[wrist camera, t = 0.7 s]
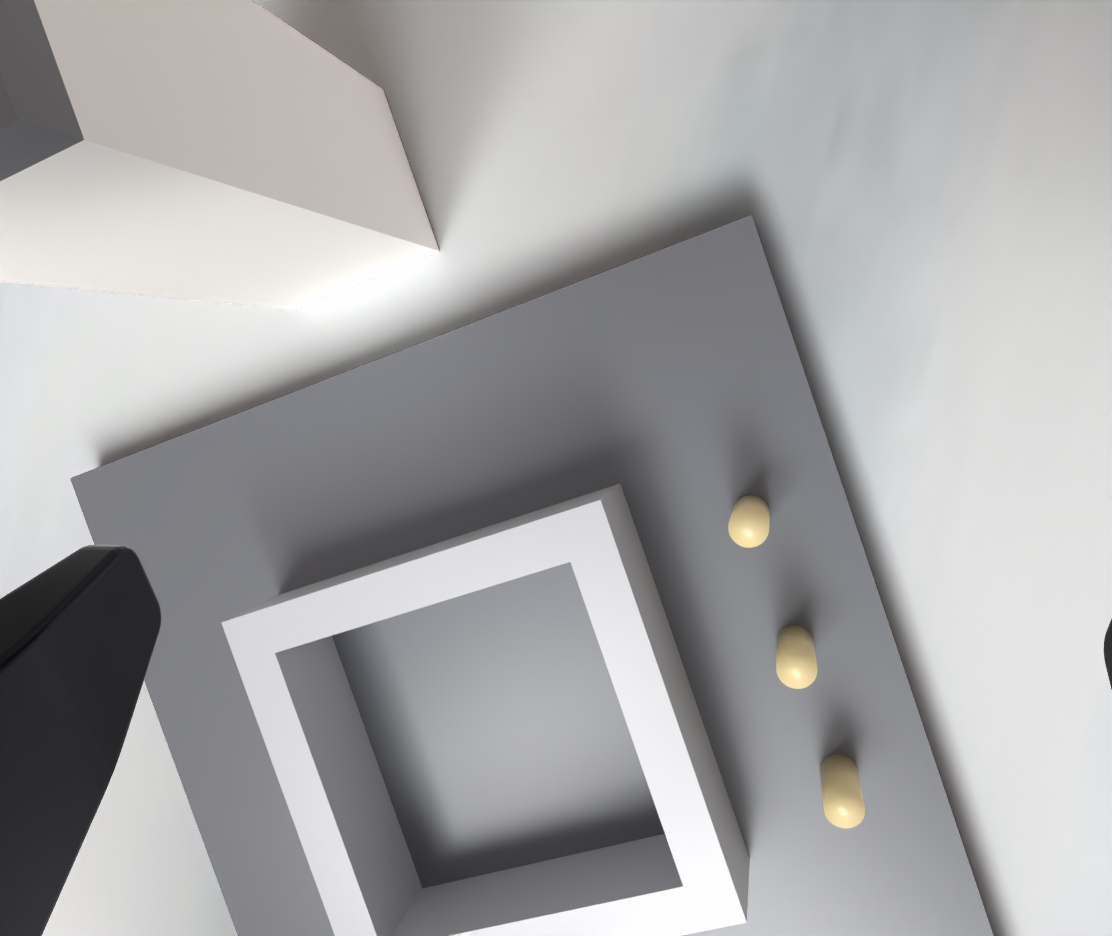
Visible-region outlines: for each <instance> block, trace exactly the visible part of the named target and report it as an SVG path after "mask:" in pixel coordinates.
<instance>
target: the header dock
mask: <svg viewBox="0 0 1112 936" xmlns="http://www.w3.org/2000/svg"><path fill="white" fill-rule="evenodd" d="M70 479H71V482H72V484H73V487H74V490H75V493H76V495H77V498H78V501H79V504H80V506H81V509H82V512H83V514H84V517H85V520H86V523H87V525H88V528H89V531H90V533H91V536H92V539H93V542H94V544H95V545H124V546H127V547H130V548H131V549H132V550H133V551H134V552H135V553H136V554H137V556H138V557H139V560H140V562H141V564H142V566H143V568H144V571H145V573H146V575H147V577H148V579H149V582H150V584H151V586H152V588H153V591H154V593H155V595H156V597H157V599H158V602H159V605H160V609H161V626H160V631H159V634H158V638H157V641H156V644H155V647H154V650H153V653H152V656H151V659H150V662H149V666H148V669H147V672H146V675H145V678H144V681H145V683H146V686H147V689H148V692H149V694H150V697H151V700H152V702H153V705H154V708H155V711H156V713H157V716H158V719H159V722H160V724H161V727H162V730H163V732H164V735H165V738H166V741H167V743H168V746H169V749H170V752H171V754H172V757H173V760H174V762H175V765H176V768H177V771H178V773H179V776H180V779H181V782H182V784H183V787H184V790H185V792H186V795H187V798H188V801H189V803H190V806H191V809H192V812H193V814H194V817H195V820H196V822H197V825H198V828H199V831H200V833H201V836H202V839H203V841H204V844H205V847H206V850H207V852H208V855H209V858H210V861H211V863H212V866H213V869H214V871H215V874H216V877H217V880H218V882H219V885H220V888H221V891H222V893H223V896H224V899H225V901H226V904H227V907H228V910H229V912H230V915H231V918H232V921H233V923H234V926H235V929H236V931H237V934H238V936H994V935H993V932H992V929H991V926H990V923H989V920H988V917H987V914H986V911H985V908H984V905H983V902H982V899H981V896H980V893H979V890H978V887H977V884H976V882H975V879H974V876H973V873H972V870H971V867H970V864H969V861H968V858H967V855H966V852H965V849H964V846H963V843H962V840H961V837H960V834H959V831H958V828H957V825H956V822H955V819H954V816H953V813H952V810H951V807H950V804H949V801H948V798H947V795H946V792H945V789H944V786H943V783H942V780H941V777H940V774H939V771H938V768H937V765H936V762H935V759H934V756H933V753H932V750H931V747H930V744H929V742H928V739H927V736H926V733H925V730H924V727H923V724H922V721H921V718H920V715H919V712H918V709H917V706H916V703H915V700H914V697H913V694H912V691H911V688H910V685H909V682H908V679H907V676H906V673H905V670H904V667H903V664H902V661H901V658H900V655H899V652H898V649H897V646H896V643H895V640H894V637H893V634H892V631H891V628H890V625H889V622H888V619H887V616H886V613H885V610H884V607H883V605H882V602H881V599H880V596H879V593H878V590H877V587H876V584H875V581H874V578H873V575H872V572H871V569H870V566H869V563H868V560H867V557H866V554H865V551H864V548H863V545H862V542H861V539H860V536H859V533H858V530H857V527H856V524H855V521H854V518H853V515H852V512H851V509H850V506H849V503H848V500H847V497H846V494H845V491H844V488H843V485H842V482H841V479H840V476H839V473H838V470H837V468H836V465H835V462H834V459H833V456H832V453H831V450H830V447H829V444H828V441H827V438H826V435H825V432H824V429H823V426H822V423H821V420H820V417H819V414H818V411H817V408H816V405H815V402H814V399H813V396H812V393H811V390H810V387H809V384H808V381H807V378H806V375H805V372H804V369H803V366H802V363H801V360H800V357H799V354H798V351H797V348H796V345H795V342H794V339H793V336H792V333H791V331H790V328H789V325H788V322H787V319H786V316H785V313H784V310H783V307H782V304H781V301H780V298H779V295H778V292H777V289H776V286H775V283H774V280H773V277H772V274H771V271H770V268H769V265H768V262H767V259H766V256H765V253H764V250H763V247H762V244H761V241H760V238H759V235H758V232H757V229H756V226H755V223H754V220H753V217H752V215H749V216H747V217H744V218H742V219H739V220H736V221H734V222H731V223H729V224H726V225H723V226H721V227H718V228H716V229H713V230H711V231H708V232H705V233H703V234H700V235H698V236H695V237H692V238H690V239H687V240H685V241H682V242H680V243H677V244H674V245H672V246H669V247H667V248H664V249H661V250H659V251H656V252H654V253H651V254H649V255H646V256H643V257H641V258H638V259H636V260H633V261H630V262H628V263H625V264H623V265H620V266H618V267H615V268H612V269H610V270H607V271H605V272H602V273H599V274H597V275H594V276H592V277H589V278H587V279H584V280H581V281H579V282H576V283H574V284H571V285H568V286H566V287H563V288H561V289H558V290H556V291H553V292H550V293H548V294H545V295H543V296H540V297H537V298H535V299H532V300H530V301H527V302H525V303H522V304H519V305H517V306H514V307H512V308H509V309H506V310H504V311H501V312H499V313H496V314H494V315H491V316H488V317H486V318H483V319H481V320H478V321H475V322H473V323H470V324H468V325H465V326H463V327H460V328H457V329H455V330H452V331H450V332H447V333H444V334H442V335H439V336H437V337H434V338H432V339H429V340H426V341H424V342H421V343H419V344H416V345H413V346H411V347H408V348H406V349H403V350H401V351H398V352H395V353H393V354H390V355H388V356H385V357H382V358H380V359H377V360H375V361H372V362H370V363H367V364H364V365H362V366H359V367H357V368H354V369H351V370H349V371H346V372H344V373H341V374H339V375H336V376H333V377H331V378H328V379H326V380H323V381H320V382H318V383H315V384H313V385H310V386H308V387H305V388H302V389H300V390H297V391H295V392H292V393H289V394H287V395H284V396H282V397H279V398H277V399H274V400H271V401H269V402H266V403H264V404H261V405H258V406H256V407H253V408H251V409H248V410H246V411H243V412H240V413H238V414H235V415H233V416H230V417H227V418H225V419H222V420H220V421H217V422H215V423H212V424H209V425H207V426H204V427H202V428H199V429H196V430H194V431H191V432H189V433H186V434H184V435H181V436H178V437H176V438H173V439H171V440H168V441H165V442H163V443H160V444H158V445H155V446H153V447H150V448H147V449H145V450H142V451H140V452H137V453H134V454H132V455H129V456H127V457H124V458H122V459H119V460H116V461H114V462H111V463H109V464H106V465H103V466H101V467H98V468H96V469H93V470H91V471H88V472H85V473H83V474H80V475H78V476H75V477H72V478H70Z"/></svg>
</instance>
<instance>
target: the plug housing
mask: <svg viewBox="0 0 1112 936" xmlns="http://www.w3.org/2000/svg"><path fill="white" fill-rule="evenodd" d="M436 252H439V248H438V246H437V243H436V240H435V237H434V234H433V231H432V228H431V225H430V223H429V220H428V217H427V214H426V211H425V208H424V205H423V203H422V200H421V197H420V194H419V191H418V188H417V185H416V182H415V180H414V177H413V174H412V171H411V168H410V165H409V162H408V159H407V157H406V154H405V151H404V148H403V145H402V142H401V139H400V137H399V134H398V131H397V128H396V125H395V122H394V119H393V116H392V114H391V111H390V108H389V105H388V102H387V99H386V96H385V94H384V91H383V89H382V88H380V87H379V86H377V85H376V84H374V83H373V82H371V81H370V80H369V79H367V78H366V77H364V76H363V75H361V74H360V73H358V72H357V71H355V70H354V69H352V68H351V67H349V66H348V65H347V64H345V63H344V62H342V61H341V60H339V59H338V58H336V57H335V56H333V55H332V54H330V53H329V52H328V51H326V50H325V49H323V48H322V47H320V46H319V45H317V44H316V43H314V42H313V41H311V40H310V39H308V38H307V37H306V36H304V35H303V34H301V33H300V32H298V31H297V30H295V29H294V28H292V27H291V26H289V25H288V24H286V23H285V22H284V21H282V20H281V19H279V18H278V17H276V16H275V15H273V14H272V13H270V12H269V11H267V10H266V9H264V8H263V7H262V6H260V5H259V4H257V3H256V2H254V1H253V0H0V282H6V283H16V284H27V285H37V286H48V287H58V288H69V289H79V290H90V291H100V292H111V293H121V294H131V295H142V296H152V297H163V298H173V299H184V300H194V301H205V302H215V303H226V304H236V305H247V306H257V307H268V308H278V309H289V310H298V309H300V308H302V307H305V306H307V305H310V304H312V303H315V302H317V301H319V300H322V299H324V298H327V297H329V296H332V295H334V294H336V293H339V292H341V291H344V290H346V289H349V288H351V287H353V286H356V285H358V284H361V283H363V282H366V281H368V280H370V279H373V278H375V277H378V276H380V275H383V274H385V273H387V272H390V271H392V270H395V269H397V268H400V267H402V266H405V265H407V264H409V263H412V262H414V261H417V260H419V259H422V258H424V257H426V256H429V255H431V254H434V253H436Z"/></svg>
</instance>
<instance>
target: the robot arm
mask: <svg viewBox="0 0 1112 936" xmlns="http://www.w3.org/2000/svg"><path fill="white" fill-rule="evenodd" d="M160 626H161V609H160V605H159V602H158V599H157V597H156V595H155V593H154V591H153V588H152V586H151V584H150V582H149V579H148V577H147V575H146V573H145V571H144V568H143V566H142V564H141V562H140V560H139V557H138V556H137V554H136V553H135V552H134V551H133V550H132V549H131V548H130V547H127V546H124V545H89V546H85V547H83V548H81V549H79V550H77V551H76V552H74V553H73V554H71V555H70V556H68V557H66V558H65V559H63V560H62V561H60V562H58V563H57V564H55V565H54V566H52V567H50V568H49V569H47V570H46V571H44V572H42V573H41V574H39V575H38V576H36V577H34V578H33V579H31V580H30V581H28V582H26V583H25V584H23V585H22V586H20V587H18V588H17V589H15V590H14V591H12V592H11V593H9V594H7V595H6V596H4V597H3V598H1V599H0V936H42V934H43V931H44V929H45V927H46V925H47V922H48V920H49V918H50V916H51V913H52V911H53V909H54V907H55V904H56V902H57V900H58V898H59V895H60V893H61V891H62V888H63V886H64V884H65V882H66V879H67V877H68V875H69V873H70V870H71V868H72V866H73V864H74V861H75V859H76V857H77V855H78V852H79V850H80V848H81V846H82V843H83V841H84V839H85V836H86V834H87V832H88V830H89V827H90V825H91V823H92V821H93V818H94V816H95V814H96V812H97V809H98V807H99V805H100V803H101V800H102V798H103V796H104V793H105V791H106V789H107V786H108V784H109V781H110V779H111V776H112V774H113V772H114V769H115V766H116V763H117V761H118V758H119V755H120V752H121V749H122V747H123V743H124V740H125V737H126V734H127V731H128V728H129V725H130V722H131V719H132V715H133V712H134V709H135V706H136V703H137V700H138V697H139V694H140V691H141V687H142V684H143V681H144V678H145V675H146V672H147V669H148V666H149V662H150V659H151V656H152V653H153V650H154V647H155V644H156V641H157V638H158V634H159V631H160ZM1104 659H1105V664H1106V668H1107V672H1108V676H1109V680H1110V684H1111V689H1112V619H1111V622H1110V624H1109V627H1108V629H1107V632H1106V635H1105V640H1104Z"/></svg>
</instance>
